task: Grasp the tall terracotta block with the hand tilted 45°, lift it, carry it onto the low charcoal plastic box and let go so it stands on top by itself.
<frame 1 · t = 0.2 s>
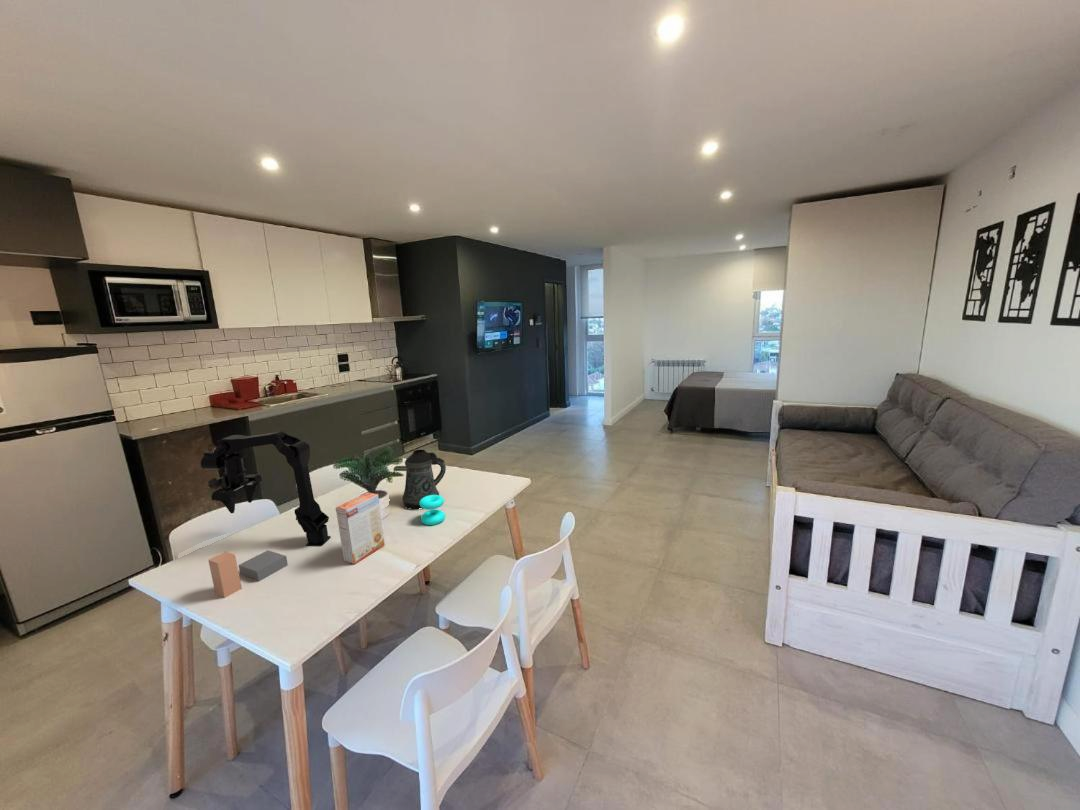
hand: (241, 507, 159), 15 cm above the table, tool pointing down, fingers open, 9 cm apart
donuts: (433, 521, 176), on the table
beer stein: (424, 501, 195), on the table
charcoal box: (264, 570, 143), on the table
cracker box: (364, 553, 152), on the table
terracotta block: (228, 591, 132), on the table
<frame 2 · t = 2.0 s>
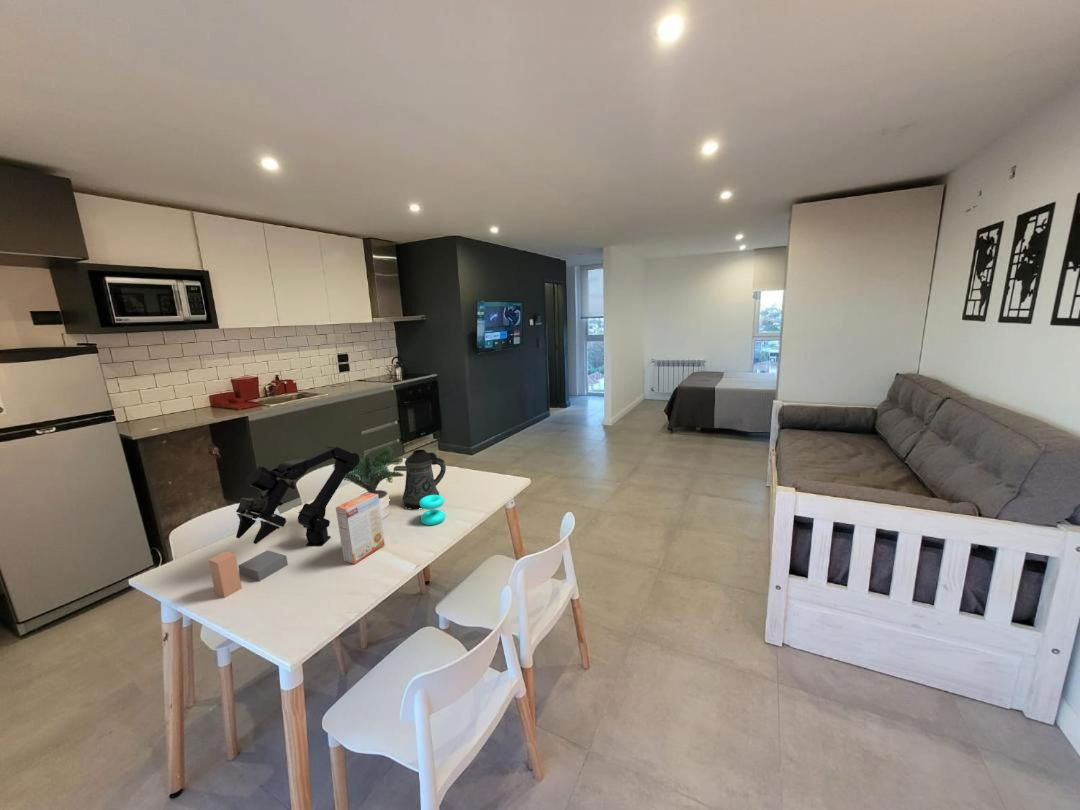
hand: (245, 540, 137), 13 cm above the table, tool tilted 45°, fingers open, 9 cm apart
nothing on the table moved.
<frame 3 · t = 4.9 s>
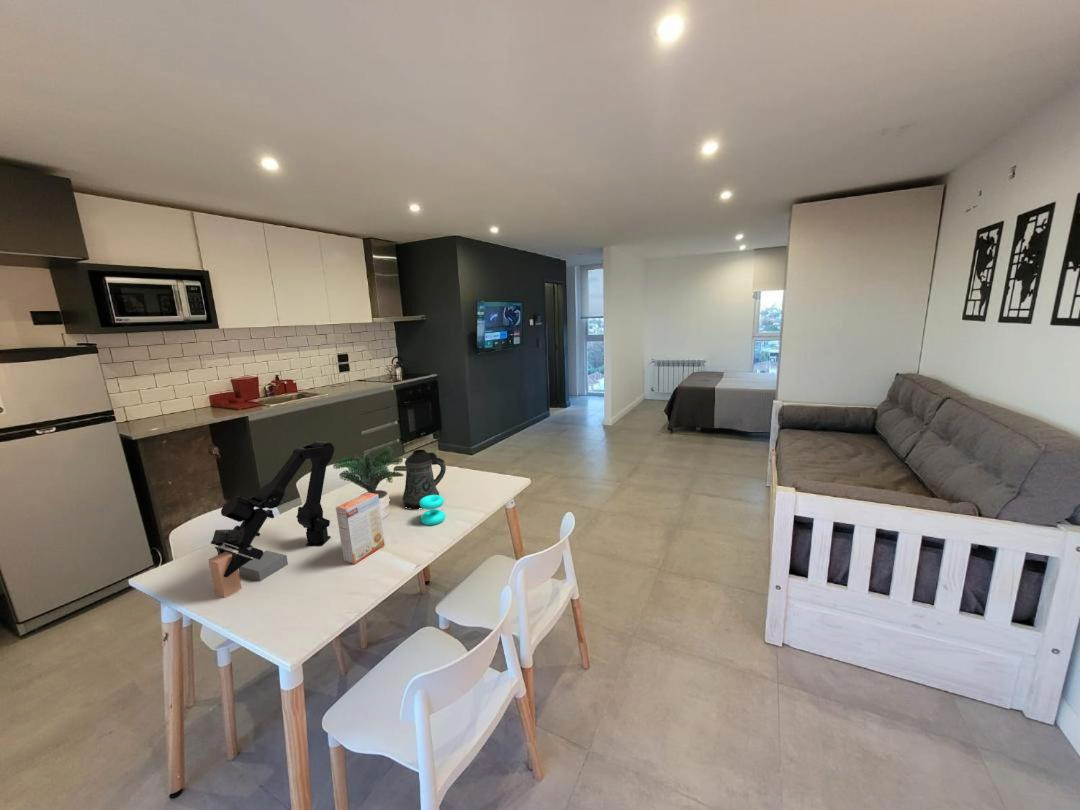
hand: (220, 575, 130), 7 cm above the table, tool tilted 45°, fingers closed on terracotta block, 5 cm apart
terracotta block: (228, 591, 132), on the table, touching gripper
everything else where it was.
when the fingers open (12 cm above the table, at t = 8.1 s): terracotta block drops 2 cm, resting on charcoal box.
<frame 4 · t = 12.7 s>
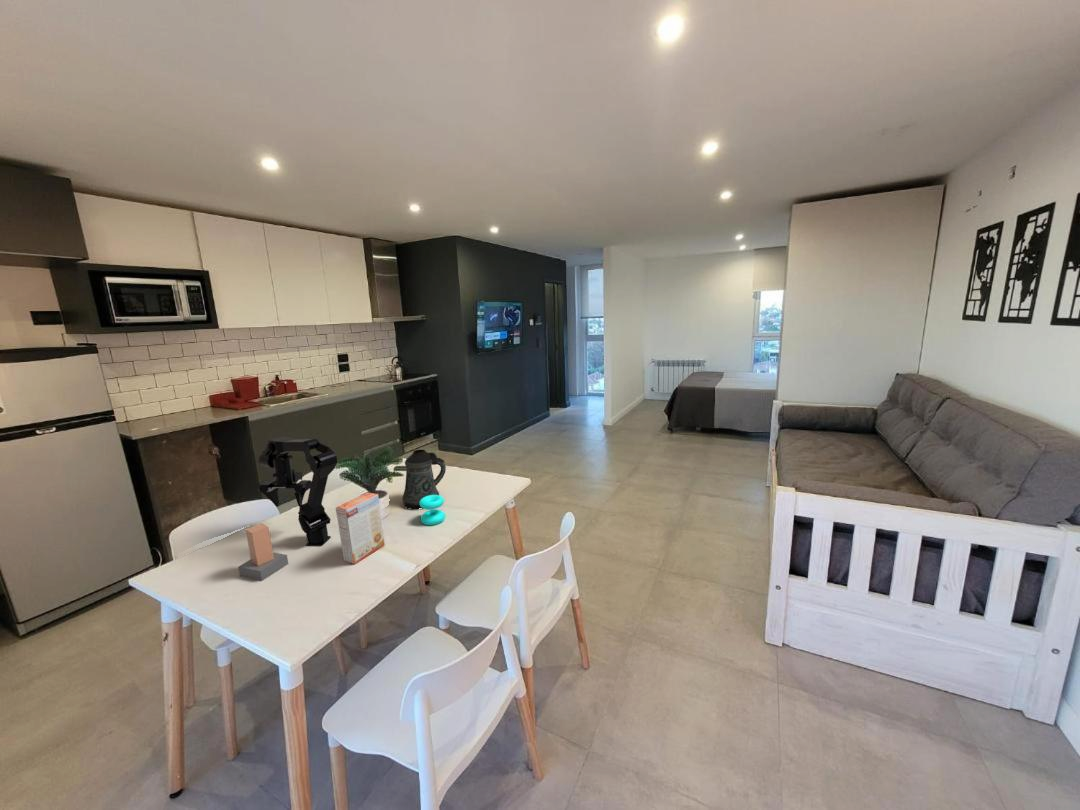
hand: (289, 506, 165), 12 cm above the table, tool pointing down, fingers open, 9 cm apart
charcoal box: (264, 571, 143), on the table, touching terracotta block
terracotta block: (262, 560, 143), point 4 cm above the table, touching charcoal box
everything else where it was.
at the end: terracotta block inside the target area on the charcoal box (0.1 cm from its centre), point 4.1 cm above the charcoal box's base; terracotta block tilted 1°; the gripper is holding nothing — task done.
